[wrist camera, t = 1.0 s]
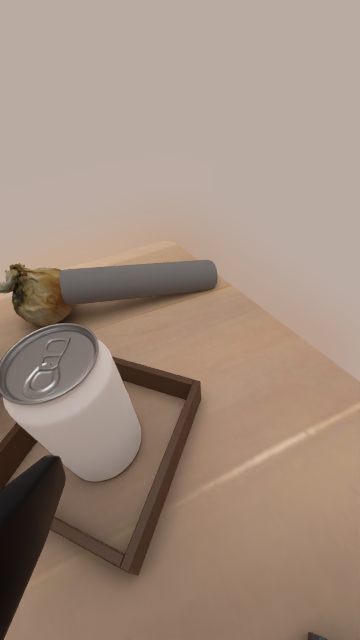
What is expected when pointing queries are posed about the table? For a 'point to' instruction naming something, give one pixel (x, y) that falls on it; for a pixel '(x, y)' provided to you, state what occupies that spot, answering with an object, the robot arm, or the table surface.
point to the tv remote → (136, 281)
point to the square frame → (18, 442)
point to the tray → (315, 637)
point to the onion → (36, 294)
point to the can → (71, 400)
